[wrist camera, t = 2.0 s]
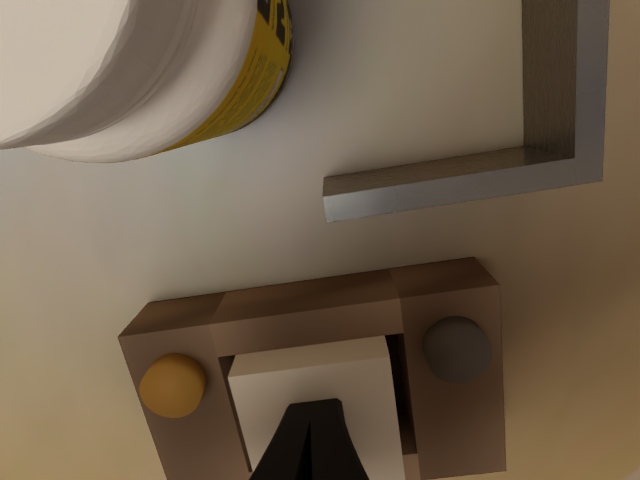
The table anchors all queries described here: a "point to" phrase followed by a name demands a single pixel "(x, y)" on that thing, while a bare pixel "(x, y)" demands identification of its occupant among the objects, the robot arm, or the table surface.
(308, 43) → the table surface
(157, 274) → the table surface
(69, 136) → the supplement bottle
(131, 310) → the table surface
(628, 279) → the table surface
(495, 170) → the lockout bracket
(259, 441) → the button
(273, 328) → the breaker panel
